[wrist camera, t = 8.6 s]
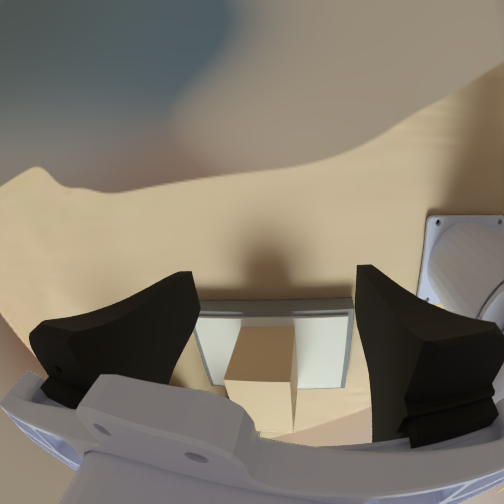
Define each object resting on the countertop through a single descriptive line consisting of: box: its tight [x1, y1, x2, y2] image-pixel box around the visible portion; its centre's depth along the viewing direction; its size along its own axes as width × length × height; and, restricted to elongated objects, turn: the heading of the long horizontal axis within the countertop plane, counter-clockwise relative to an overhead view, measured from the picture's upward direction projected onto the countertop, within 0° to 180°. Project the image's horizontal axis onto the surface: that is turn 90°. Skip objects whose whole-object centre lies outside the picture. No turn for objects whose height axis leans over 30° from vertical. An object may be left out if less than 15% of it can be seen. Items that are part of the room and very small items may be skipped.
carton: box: [223, 326, 298, 432], centre depth 21 cm, size 7×4×6 cm, turn 8°
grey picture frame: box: [193, 297, 354, 389], centre depth 25 cm, size 14×10×2 cm
